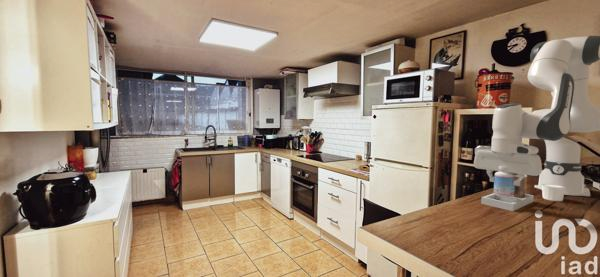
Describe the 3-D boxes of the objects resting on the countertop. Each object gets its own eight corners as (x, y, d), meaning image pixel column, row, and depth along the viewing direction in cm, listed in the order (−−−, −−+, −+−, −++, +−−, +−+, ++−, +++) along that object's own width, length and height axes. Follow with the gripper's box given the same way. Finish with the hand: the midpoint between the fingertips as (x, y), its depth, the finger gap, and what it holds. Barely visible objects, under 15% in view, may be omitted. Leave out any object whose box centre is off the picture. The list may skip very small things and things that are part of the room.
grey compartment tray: (502, 198, 110) (503, 189, 110) (533, 205, 102) (533, 195, 102) (481, 207, 100) (481, 197, 99) (512, 215, 91) (513, 204, 91)
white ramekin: (569, 205, 102) (570, 187, 101) (551, 205, 102) (552, 187, 102) (552, 200, 109) (553, 183, 108) (536, 200, 109) (537, 183, 108)
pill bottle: (516, 198, 94) (517, 168, 93) (495, 196, 97) (496, 166, 96) (511, 194, 99) (513, 165, 98) (492, 192, 102) (493, 164, 101)
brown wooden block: (506, 197, 107) (507, 173, 107) (524, 201, 102) (525, 176, 102) (500, 199, 104) (501, 175, 103) (518, 203, 99) (520, 178, 98)
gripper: (471, 145, 104) (470, 179, 105) (538, 150, 87) (536, 190, 87) (478, 144, 107) (477, 177, 108) (544, 148, 90) (542, 188, 91)
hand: (504, 183), depth 98 cm, fingers closed on pill bottle, 6 cm apart
